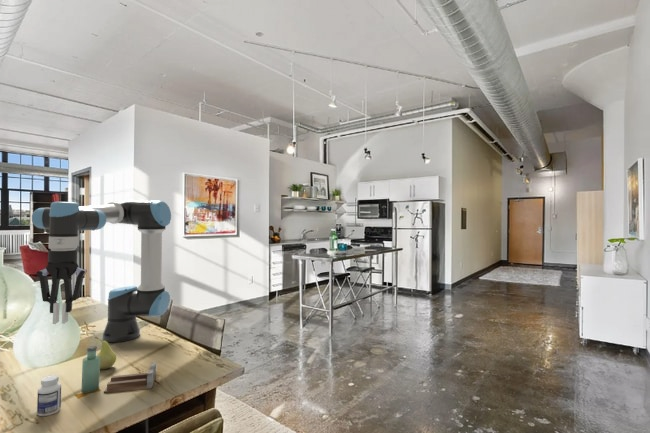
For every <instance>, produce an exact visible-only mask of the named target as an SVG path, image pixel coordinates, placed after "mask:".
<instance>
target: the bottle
mask: <svg viewBox="0 0 650 433" xmlns="http://www.w3.org/2000/svg"><path fill="white" fill-rule="evenodd" d="M97 350H98V347H97V346H96V345H92V346H88V347H86V351H87V353H86V357H84V358H83V359H82V367H81V392H82V393H92V392H95V391H96V390H99V388H100V373H101V372H100V371H101V369H100V356H96V355H97Z"/></svg>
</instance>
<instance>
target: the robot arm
mask: <svg viewBox="0 0 650 433" xmlns="http://www.w3.org/2000/svg"><path fill="white" fill-rule="evenodd" d="M171 220H172V212H171V209H170V206H169V205H168V204H167V202H165V201H162V200H156V199H129V200H128V199H127V200H122V201H112V202H109V203H107V204H99V205H97V204H96V205H83V206H80V204H79V203H78V202H74V201H71V202H70V201H69V202H68V201H52V202H51V203H50V207H49V206H48V207H39V208H36V209H35V210H34V211H33V212H32V214H31V222H32V225H33V226H34V227H35V228H37V229H42V230H43V229H44V230H48V233H49V234H48V252H47V265H46V266H45V268H43V269H41V270H38V271H36V272H35V273H36V275H37V277H38V279H39V284H40V291H41V297H42V298H41V299H42V302H45V303H46V302H47V303H48V304H49V314H52V324H53V325H56V324H58V323H59V322H60V310H61V309H60V308H61V304H60V303H61V302H60V301H58V300H59V299H58V295H59V289H60V282H61V279H63V280H62V281H63V283H64V284H63V285H64V297H65V299H64V300H65V301H63V303H62V312H61V314H62V317H61V324H62V325H63V324H66V323H68V322H69V313H70V312H72V310H73V301H76V300H78V299H79V298H80V295H81V290H82V286H83V282H84V277H85V275H86V274H87V272H88V270H87V269H83V268H81V267H79V265H78V250H77V249H78V241H79V231H97V230H101V229H103V228H104V227H105V225H106V223H110V224H114V225H115V224H116V225H117V224H122V225H123V224H124V225H132V226H133V225H135V226H137V230H138V231H139V233H140V234H141V240H140V242H141V243H140V244H141V245H140V256H141V257H140V285H139V286H136V285H130V286H123V287H118V288H113V289H112V290H110V291H109V292H108V298H107V323H106V325H105V327H104V330H103V333H102V338H101V340H103V341H106V342H107V343H121V342H126V341H132V340H134V339H137V338H138V337H140V334H141V332H140V331H141V329H140V327H139V324H138V321H137V316H138V317H150V318H153V317H161V316H162V315H164V314H165V313H166V311H167V310H168V307H169V305H170V301H171V295H170V292H168V290H165V289H166V287H165V285H164V284H163V283H162V266H163V265H162V254H163V252H162V248H163V243H162V242H163V233H164V232H165V230H166V228H167V226H169V224H170V223H171ZM75 273H76V275H77V277H76V280H75V284H74V287H73V282H72V281H73V275H74V274H75ZM48 274H49V275H50V276H51V288H50V286H49V279H48ZM73 288H74V289H73Z"/></svg>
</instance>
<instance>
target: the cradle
mask: <svg viewBox="0 0 650 433" xmlns="http://www.w3.org/2000/svg"><path fill="white" fill-rule="evenodd" d="M156 378H157V362H156V361H155V362H151V364H150V367H149V368H148V371H147V372H141V373H129V374H121V375H120V374H119V375H112V376H111V377H110V380H109V382H107V383H106V387H105V389H104V390H103V394H110V393H111V394H112V393H120V392H128V391H129V392H130V391H137V390H139V391H140V390H148V389H152V388H153V385H154V383H155V379H156Z"/></svg>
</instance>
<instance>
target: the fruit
mask: <svg viewBox="0 0 650 433" xmlns="http://www.w3.org/2000/svg"><path fill="white" fill-rule="evenodd" d="M94 339H96V340H97V341H98V340H99V342H101V348H100V351H99V352H98V353H96V356H100V370H107V369H110V368H111V367H113V365H115V363H116V361H117V354H116V353H115V352H114V351H113V350H112V347H111V345H110V344H109V342H106V341H103V339H102V338H99V337H97V336H94Z"/></svg>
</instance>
